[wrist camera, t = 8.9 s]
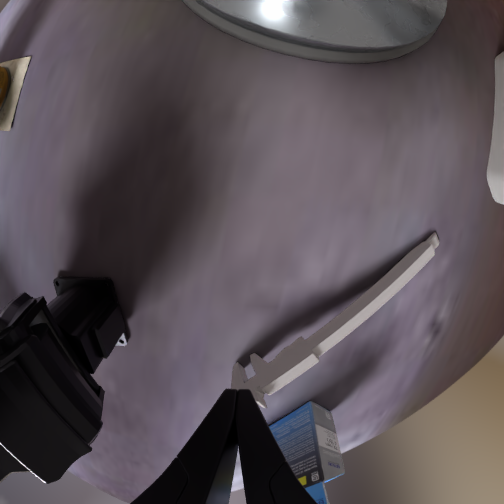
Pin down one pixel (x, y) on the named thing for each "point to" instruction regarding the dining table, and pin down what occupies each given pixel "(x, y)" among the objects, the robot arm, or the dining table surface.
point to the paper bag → (497, 136)
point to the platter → (335, 21)
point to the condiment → (10, 88)
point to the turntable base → (297, 49)
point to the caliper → (330, 329)
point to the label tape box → (310, 447)
